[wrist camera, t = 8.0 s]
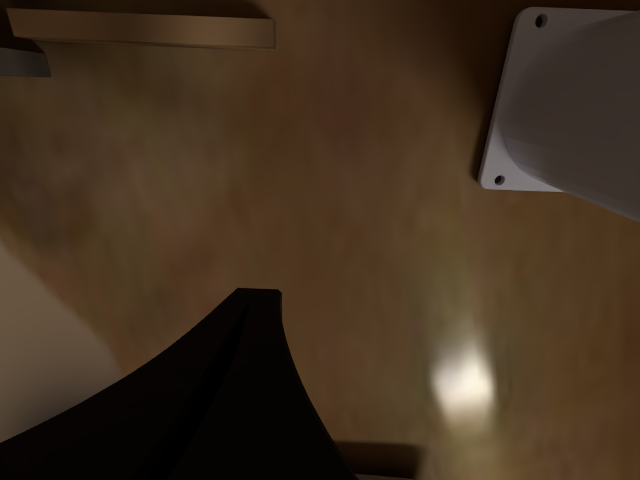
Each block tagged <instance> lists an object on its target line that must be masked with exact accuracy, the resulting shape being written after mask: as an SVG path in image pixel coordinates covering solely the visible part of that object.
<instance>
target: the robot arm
mask: <svg viewBox="0 0 640 480" xmlns="http://www.w3.org/2000/svg"><path fill="white" fill-rule="evenodd" d="M538 16H541V18H542V24H541V26H540V27H539V28H538V27H536V25H535V20H536V18H537V17H538ZM499 175H501V180H500V181H499V182H498V183H495V178H496V177H497V176H499ZM478 184H479V185H480V186H481V187H483V188H485V189H499V190H525V191H550V192H567V193H569V194H572V195H574V196H577V197H579V198H581V199H584V200H586V201H589V202H591V203H594V204H596V205H598V206H601V207H603V208H606V209H608V210H611V211H613V212H615V213H618V214H620V215H623V216H625V217H627V218H630V219H632V220H635V221H637V222H640V10H639V11H620V10H596V9H572V8H548V7H529V8H526V9H524V10H522V11H521V12H519V14H518V15H517V16H516V18H515V21H514V25H513V29H512V33H511V37H510V42H509V46H508V50H507V55H506V59H505V63H504V67H503V72H502V76H501V80H500V85H499V89H498V93H497V97H496V102H495V106H494V110H493V115H492V119H491V123H490V127H489V132H488V136H487V140H486V145H485V149H484V153H483V158H482V162H481V166H480V170H479V175H478ZM0 480H359V479H358V478H357V476H356V475H355V473H354V472H353V470H352V469H351V467H350V466H349V464H348V463H347V462H346V460H345V459H344V457H343V456H342V454H341V453H340V451H339V449H338V448H337V446H336V445H335V443H334V441H333V440H332V438H331V437H330V435H329V433H328V432H327V430H326V428H325V426H324V425H323V423H322V421H321V419H320V417H319V415H318V414H317V412H316V410H315V408H314V406H313V405H312V403H311V401H310V399H309V397H308V395H307V393H306V390H305V388H304V386H303V384H302V382H301V379H300V377H299V375H298V372H297V370H296V367H295V365H294V362H293V359H292V356H291V353H290V350H289V347H288V344H287V341H286V337H285V333H284V328H283V324H282V293H281V292H280V291H279V290H278V289H253V288H237V289H236V290H235V291H234V292H233V293H231V294H230V295H229V296H228V297H227V298H226V299H225V300H224V301H223V302H222V303H220V304H219V305H218V306H217V307H216V308H215V309H214V310H213V311H212V312H211V313H209V314H208V315H207V316H206V317H205V318H204V319H203V320H201V321H200V322H199V323H198V324H197V325H196V326H195V327H193V328H192V329H191V330H190V331H189V332H187V333H186V334H185V335H184V336H182V337H181V338H180V339H178V340H177V341H176V342H175V343H173V344H172V345H171V346H170V347H168V348H167V349H166V350H164V351H163V352H162V353H160V354H159V355H157V356H156V357H155V358H153V359H152V360H150V361H149V362H147V363H146V364H144V365H143V366H141V367H140V368H138V369H137V370H135V371H134V372H132V373H131V374H129V375H127V376H126V377H124V378H123V379H121V380H119V381H118V382H116V383H114V384H112V385H111V386H109V387H107V388H105V389H104V390H102V391H100V392H99V393H97V394H95V395H93V396H92V397H90V398H88V399H87V400H85V401H83V402H82V403H80V404H78V405H76V406H74V407H72V408H70V409H68V410H66V411H64V412H62V413H61V414H59V415H57V416H55V417H53V418H51V419H49V420H47V421H45V422H43V423H41V424H39V425H37V426H35V427H33V428H31V429H29V430H27V431H25V432H23V433H20V434H18V435H16V436H14V437H12V438H10V439H8V440H6V441H3V442H1V443H0Z"/></svg>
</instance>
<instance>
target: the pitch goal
mask: <svg viewBox="0 0 640 480" xmlns="http://www.w3.org/2000/svg"><path fill="white" fill-rule="evenodd" d="M6 10H7V14H8V17H9V20H10V24H11V27H12V31H13V34H14V36H15V37H20V38H26V39H31V40H37V41H44V42H68V43H93V44H117V45H141V46H165V47H189V48H214V49H238V50H262V51H278V25H277V24H276V22H275V21H274V20H273V19H254V18H230V17H206V16H182V15H158V14H134V13H110V12H86V11H62V10H38V9H14V8H6ZM0 75H7V76H32V77H51V75H50V71H49V67H48V63H47V60H46V56H45V54H44V53H36V52H29V51H22V50H15V49H8V48H0Z"/></svg>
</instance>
